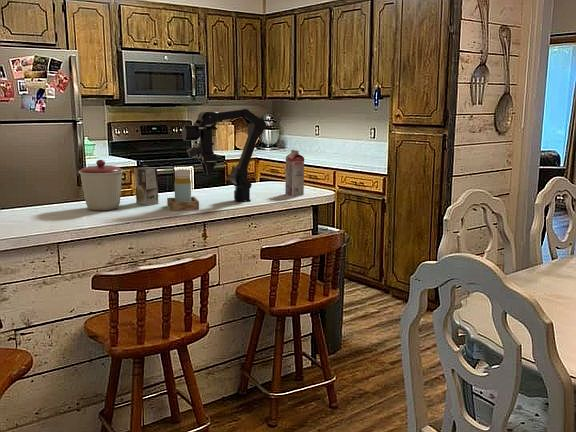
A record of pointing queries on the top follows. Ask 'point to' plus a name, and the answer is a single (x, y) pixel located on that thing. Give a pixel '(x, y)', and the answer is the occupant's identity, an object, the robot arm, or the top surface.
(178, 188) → the bottle
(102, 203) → the canister
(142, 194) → the coffee box
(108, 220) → the top surface
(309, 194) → the top surface
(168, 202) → the caddy
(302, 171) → the juice carton
